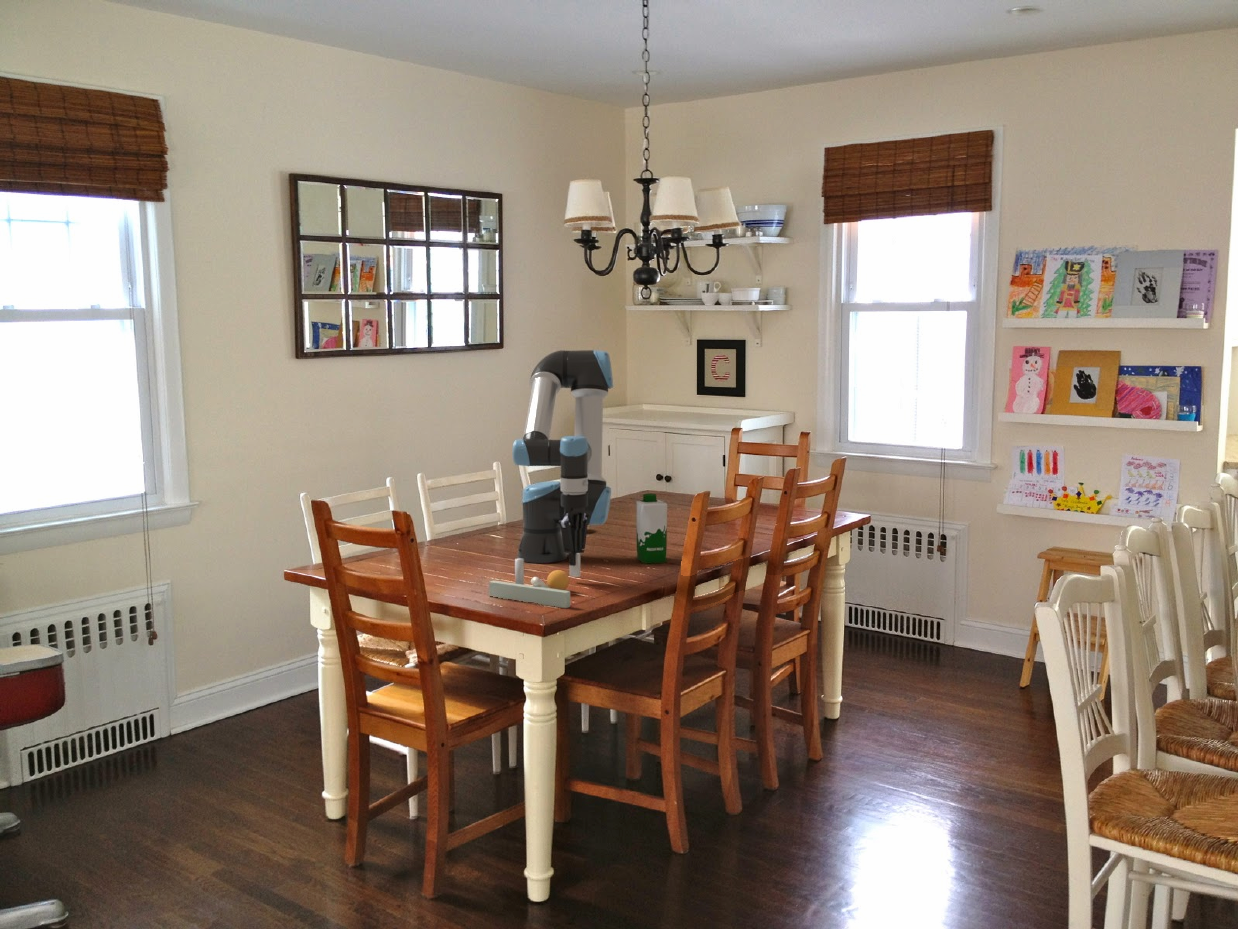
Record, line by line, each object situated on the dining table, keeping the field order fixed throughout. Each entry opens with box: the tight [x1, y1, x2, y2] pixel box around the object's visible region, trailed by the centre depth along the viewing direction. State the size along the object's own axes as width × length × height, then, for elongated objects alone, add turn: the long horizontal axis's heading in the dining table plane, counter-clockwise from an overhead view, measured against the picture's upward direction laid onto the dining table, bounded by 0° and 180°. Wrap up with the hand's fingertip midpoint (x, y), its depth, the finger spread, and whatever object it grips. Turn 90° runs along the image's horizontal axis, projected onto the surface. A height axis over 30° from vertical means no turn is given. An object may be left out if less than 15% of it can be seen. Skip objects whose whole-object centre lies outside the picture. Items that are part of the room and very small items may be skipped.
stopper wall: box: [488, 580, 571, 609], centre depth 286 cm, size 24×2×4 cm, turn 61°
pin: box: [530, 576, 550, 588], centre depth 290 cm, size 2×2×8 cm
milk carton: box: [635, 493, 668, 564], centre depth 332 cm, size 9×9×20 cm
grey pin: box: [514, 557, 525, 585], centre depth 298 cm, size 2×2×8 cm
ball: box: [546, 569, 570, 591], centre depth 296 cm, size 6×6×6 cm
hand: (574, 576), depth 306 cm, fingers closed
